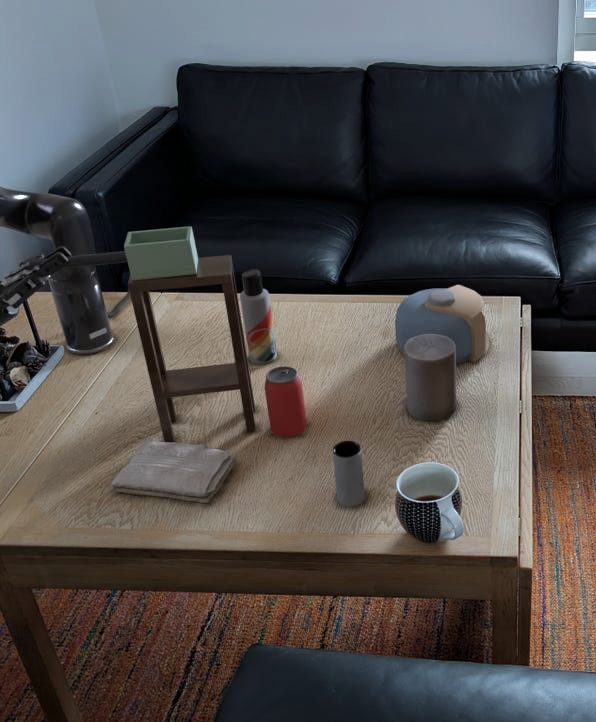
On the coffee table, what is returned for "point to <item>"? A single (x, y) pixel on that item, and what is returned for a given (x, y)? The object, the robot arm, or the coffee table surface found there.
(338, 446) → the grey black cylinder
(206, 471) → the washcloth
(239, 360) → the stand
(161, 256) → the green box scoop
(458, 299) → the alarm clock
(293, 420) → the beer can
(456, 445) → the coffee table surface
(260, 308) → the lotion bottle
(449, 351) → the pillar candle
